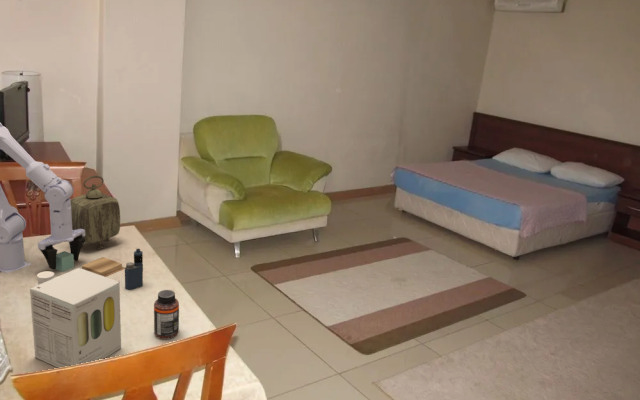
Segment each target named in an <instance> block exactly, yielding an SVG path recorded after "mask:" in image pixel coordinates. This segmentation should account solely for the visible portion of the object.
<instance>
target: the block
mask: <svg viewBox="0 0 640 400" xmlns="http://www.w3.org/2000/svg"><path fill="white" fill-rule="evenodd" d="M74 262H75V261H74V255H73V254H71V252H68V251H66V250H64V251H61V252H57V254H56V269H55V270H56V271H59V272H62V273H64V272H67V271H69V270H72V269H73V268H75V263H74Z"/></svg>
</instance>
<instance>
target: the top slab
mask: <svg viewBox="0 0 640 400" xmlns="http://www.w3.org/2000/svg"><path fill="white" fill-rule="evenodd" d="M122 267H123V263H121V262H118V261H116V260H113V259H110V258H107V257H105V256H101V257H100V258H97V259H95V260H93V261H90V262H87V263H84V264H83V265H81V268H82V269H84V270H87V271H90V272H93V273H95V274H98V275H101V276H105V275H108V274H110V273H112V272H114V271H117V270H119V269H121V268H122Z"/></svg>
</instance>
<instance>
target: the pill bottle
mask: <svg viewBox="0 0 640 400" xmlns="http://www.w3.org/2000/svg"><path fill="white" fill-rule="evenodd" d="M53 278H55V272H53V271H45V270H44V271H41V272H39V273H37V275H36V280H37V281H36V282H35V283H34V287H35V286H37V285H39V284H42V283H44V282H47V281H49V280H51V279H53Z"/></svg>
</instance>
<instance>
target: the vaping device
mask: <svg viewBox="0 0 640 400" xmlns="http://www.w3.org/2000/svg"><path fill="white" fill-rule="evenodd" d="M143 257H144V254H143V251H141V249H140V248H136V249H135V251H134V252H133V262H126V265H125V267H124V268H125V269H124V289H125V290H126V291H131V290H135V289H139V288H142V287H143V286H144V285H143V283H144V279H143V278H144V274H143V273H144V264H143V263H144V262H143V261H144V259H143Z"/></svg>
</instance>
